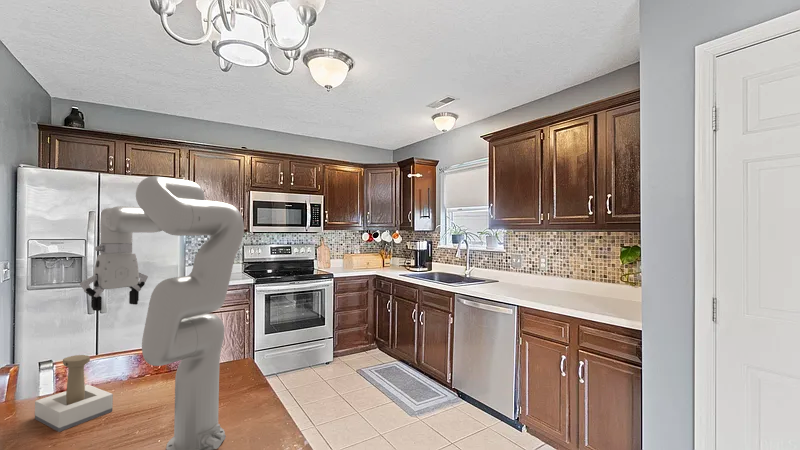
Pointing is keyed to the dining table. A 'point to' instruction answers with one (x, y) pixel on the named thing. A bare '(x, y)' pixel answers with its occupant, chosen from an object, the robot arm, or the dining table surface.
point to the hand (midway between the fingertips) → (115, 307)
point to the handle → (75, 378)
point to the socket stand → (73, 408)
